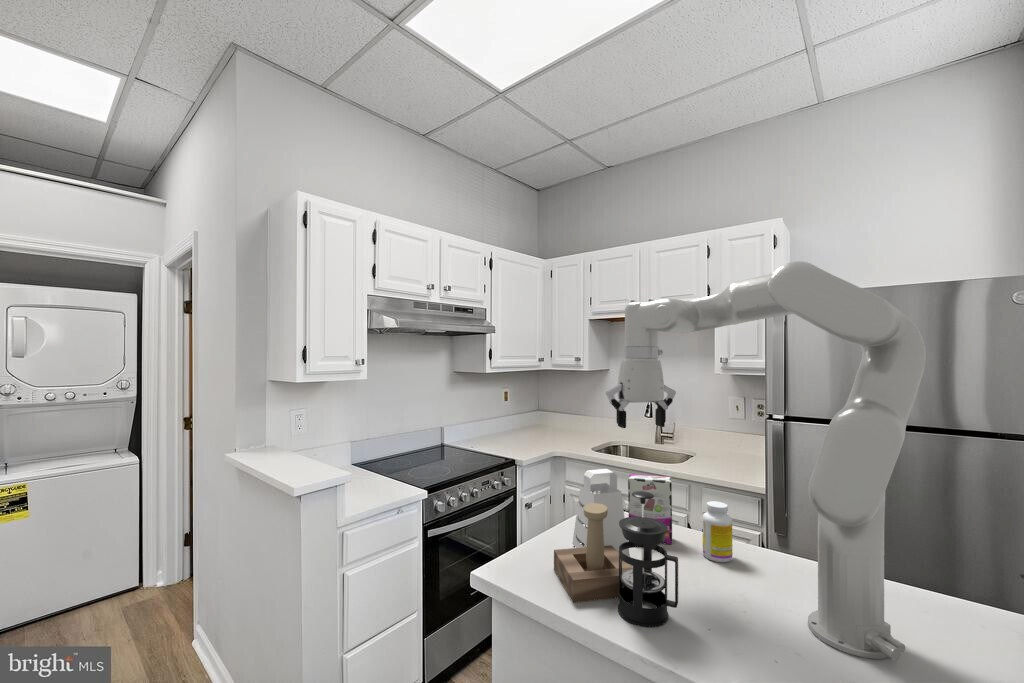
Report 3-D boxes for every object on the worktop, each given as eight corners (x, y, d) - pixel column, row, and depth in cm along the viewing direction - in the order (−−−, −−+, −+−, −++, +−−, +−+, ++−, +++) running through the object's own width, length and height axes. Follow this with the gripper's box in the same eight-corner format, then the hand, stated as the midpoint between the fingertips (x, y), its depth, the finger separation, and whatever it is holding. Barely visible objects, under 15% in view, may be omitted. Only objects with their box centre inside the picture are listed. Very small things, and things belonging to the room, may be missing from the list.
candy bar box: (671, 537, 124) (671, 476, 124) (672, 545, 119) (672, 481, 119) (628, 532, 127) (629, 472, 128) (627, 539, 123) (628, 477, 123)
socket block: (638, 596, 95) (638, 574, 95) (573, 602, 92) (573, 580, 92) (611, 564, 109) (611, 545, 109) (553, 569, 106) (553, 549, 106)
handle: (609, 573, 102) (610, 505, 102) (602, 586, 96) (603, 514, 97) (588, 568, 104) (588, 501, 104) (579, 581, 98) (580, 511, 99)
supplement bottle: (738, 560, 111) (738, 507, 111) (717, 565, 108) (717, 510, 108) (717, 549, 117) (717, 498, 117) (696, 553, 114) (696, 501, 115)
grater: (572, 545, 119) (572, 467, 119) (608, 540, 122) (608, 464, 122) (590, 563, 109) (591, 478, 109) (630, 558, 112) (630, 475, 112)
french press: (608, 617, 87) (608, 495, 87) (621, 594, 95) (621, 482, 96) (673, 636, 82) (673, 505, 82) (681, 609, 90) (681, 491, 90)
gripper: (666, 354, 115) (666, 423, 114) (600, 354, 111) (600, 425, 111) (683, 354, 107) (683, 428, 107) (613, 354, 104) (613, 430, 104)
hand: (641, 426), depth 109 cm, fingers open, 9 cm apart
